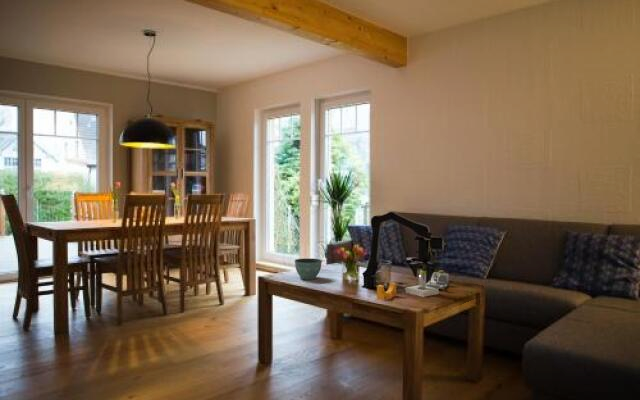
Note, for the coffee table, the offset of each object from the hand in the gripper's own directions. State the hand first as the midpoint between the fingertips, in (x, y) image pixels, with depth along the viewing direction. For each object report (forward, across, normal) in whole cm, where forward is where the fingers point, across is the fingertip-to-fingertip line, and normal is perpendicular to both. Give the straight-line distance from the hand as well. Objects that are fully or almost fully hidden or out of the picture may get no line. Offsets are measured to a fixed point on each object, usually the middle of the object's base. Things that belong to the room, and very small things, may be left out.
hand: (422, 278), depth 247 cm
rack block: (+8, 0, 0) cm, 8 cm away
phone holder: (+8, +5, -17) cm, 20 cm away
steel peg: (+8, 0, 0) cm, 8 cm away
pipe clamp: (+8, +3, +22) cm, 24 cm away
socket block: (+8, +14, 0) cm, 16 cm away
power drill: (+8, +18, -31) cm, 37 cm away
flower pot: (+8, +63, +28) cm, 70 cm away
